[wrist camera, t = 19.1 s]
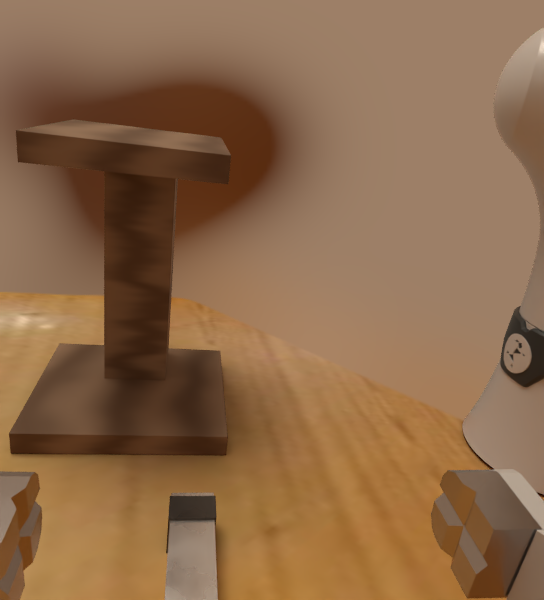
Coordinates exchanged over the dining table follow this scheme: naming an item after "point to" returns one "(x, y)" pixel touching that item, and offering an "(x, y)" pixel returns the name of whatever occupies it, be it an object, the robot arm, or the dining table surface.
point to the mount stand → (129, 306)
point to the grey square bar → (191, 547)
